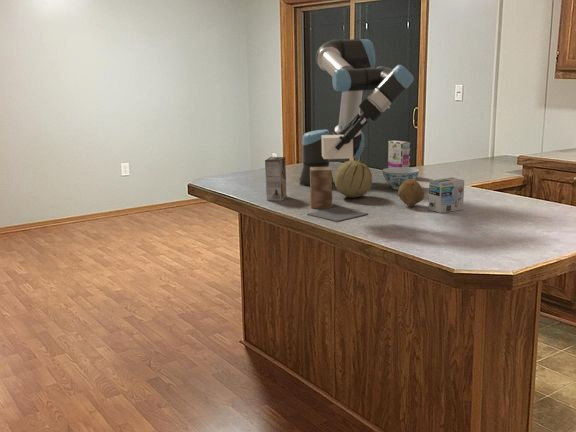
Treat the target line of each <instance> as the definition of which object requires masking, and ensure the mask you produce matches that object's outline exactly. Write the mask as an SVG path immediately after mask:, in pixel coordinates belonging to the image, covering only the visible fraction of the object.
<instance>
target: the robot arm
mask: <svg viewBox="0 0 576 432" xmlns="http://www.w3.org/2000/svg"><path fill="white" fill-rule="evenodd" d="M374 47H375V46H374V44H373V42H372V41H371V40H370V39H368V38H367V39H362V38H359V39H358V38H356V39H355V38H353V39H348V38H347V39H332V40H331V39H330V40H328V41H327V42H325V43H323V44H322V45H321V46H319V47H318V50H317V51H316V54H315V61H316V64H317V66H318V67H319V68H320V70H322V71H324V72H327V74H329V75H330V76H331V79H332V80H331V81H332V82H331V83H332V88H333V89H334V91H335V92H341V99H340V107H339V108H340V109H339V119H338V124H337V125H336V126H335V127H334V132H330V131H329V129H317V130H312V131H308V132H305V133H304V134H303V136H302V170H301V173H300V177H299V184H300V185H302V186H308V187H310V167H330V159H323V157H322V135H344V136H343V137H342V136H340V137H339V138H340V139H339V140H338V141H337V142H336V143H335V144H334V145H333V146H332V147H331V148H330V149H329V151H328V152H327V154H328V155H329V156H330V157H331V158H333V157H334V156H335V155H336V154H337V153H338V152H339V151H340V150H341V149H342V148H343V147H344V146H345V145H346V144H347V143H350V141H351V140H352V139H353V158H355V159H356V158H359V157H360V156H361V155H362V153H363V151H364V147H365V135H364V133H363V132H362V129H363V127H364V126H366V125H367V124H368V122H369V121H368V120H369V119H370V120H371V121H373V122H375V121H377V120H378V118H379V117H380V116H381V115H382V112H383V113H384V112H385V111H387V109H388V110H390V109H391V106H390V105H392V104H393V103H394V102H395V100H397V99H398V98H399V97H400V96H401V95H402V94H403V93H404V92H405V91H406V90H407V89H408V88H409V86H411V84H412V83H413V82H414V76H413V75H412V73H411V72H410V71H409V70H408V69H407V68H406V67H405V66H403V65H401V64H397V65H396V66H395V67H394V68H393V69H392V68H390V67H388V66H383V65H382V66H381V65H380V66H377V67H375V66H376V52H375V51H376V50H375V48H374ZM364 91H365V92H366V91H371V92H370V93H369V94H368V95H367V98H365V99H363V92H364ZM362 99H363V101H362ZM361 111H362V112H361ZM353 158H352V159H353ZM332 184H334V176H333V175H332Z"/></svg>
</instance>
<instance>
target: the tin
mask: <svg viewBox="0 0 576 432" xmlns="http://www.w3.org/2000/svg"><path fill="white" fill-rule="evenodd" d="M332 171H333V170H332V167H331V166H329V167H310V186H309V187H310V188H309V190H310V191H309V192H310V195H309V196H310V201H309V202H310V208H311V209H323V208H324V209H331V208H333V185H332V184H333V183H332V176H333V174H332V173H333V172H332Z"/></svg>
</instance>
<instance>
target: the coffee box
mask: <svg viewBox="0 0 576 432" xmlns="http://www.w3.org/2000/svg"><path fill="white" fill-rule="evenodd" d="M264 164H265V165H264V167H265V168H264V169H265V190H266V191H265V192H266V193H265V194H266V201H279V202H282V201H283V200H284V199H285V198H286V197H287V173H286V172H287V171H286V170H287V167H286V157H285V156H270V157H269V158H266V159H265V160H264Z"/></svg>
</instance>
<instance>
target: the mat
mask: <svg viewBox="0 0 576 432" xmlns="http://www.w3.org/2000/svg"><path fill="white" fill-rule="evenodd" d="M367 215H369V213H367V212H363V211H358V210H354V209H349V208H345V207H344V208H343V207H340V206H336V207H332V208H325V209H323V210H317V211H313V212H308V213H306V216H310V217H314V218H319V219H323V220H327V221H331V222H334V223H335V222H336V223H338V222H343V221H346V220H351V219H355V218H360V217H364V216H367Z"/></svg>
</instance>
